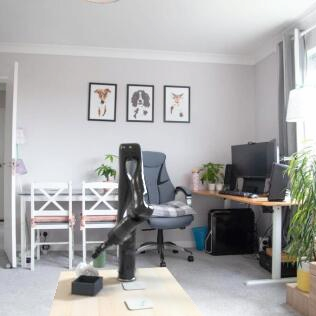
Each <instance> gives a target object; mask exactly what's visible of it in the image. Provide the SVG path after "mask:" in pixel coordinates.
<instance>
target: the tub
mask: <svg viewBox="0 0 316 316" xmlns="http://www.w3.org/2000/svg"><path fill="white" fill-rule="evenodd" d="M103 278H104V276H101V275H99V276H90V275H80V276H79V277H76V278H75V279H73V281H71V286H70V295H74V296H75V295H76V296H86V297H95V296H96V295H97V294H98V293H100V291H101V290H102V289H103V288H104V287H103V286H104V284H103V283H104V279H103Z"/></svg>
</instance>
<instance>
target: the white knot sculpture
mask: <svg viewBox="0 0 316 316" xmlns="http://www.w3.org/2000/svg"><path fill="white" fill-rule="evenodd" d="M75 274H76V278H78V277H79V276H80V275H90V276H100V273H99V271H98V268H94V267H93V260H92V261H90V262H89V263H88V264H87V262H84V261H81V262H79V263H78V264H77V266H76V268H75Z"/></svg>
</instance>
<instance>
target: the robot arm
mask: <svg viewBox="0 0 316 316" xmlns="http://www.w3.org/2000/svg"><path fill="white" fill-rule="evenodd" d="M128 162H135V169H134V171H133V173H132V175H131V174H130V172H129V170H128V168H127V163H128ZM144 173H145V171H144V160H143V149H142V147H141V144H140V143H138V142H123V143H120V144H119V146H118V187H117V212H116V213H117V214H116V224H115V226H113V227H112V228H111V230H109V231H108V233H106V234H107V235H106V236H107V239H105V240H104V241H103V242H102V243H100V245H98V246H99V247H98V248H97V249H96V250H95V253H94V254H93V253H92V254H91V258H92V260H93V259H95V258H96V257H98V256H99V255H100V254H101V253H102V252H105V251H106V252H107V251H108V250H110V249H111V248H112V247H114V246H118V252H117V253H118V256H117V257H118V258H117V259H118V262H117V263H118V264H117V270H116V271H117V280H118V281H119V282H126V283H128V282H129V283H130V282H133V281H135V280H136V270H137V267H136V255H137V254H136V253H137V251H136V250H137V247H136V244H137V243H136V242H137V241H136V239H137V227H138V226H140V225H141V224H143V223H145V222H146V221H148V220H149V219H150V218H151V217H152V216H153V215H154V210H155V209H154V205H152V204H151V203H149V202H146V201H145V199H146V198H147V196H148V189H147V185H146V181H145V180H146V179H145V174H144ZM130 206H131V210H132V212H133V213H129V214H127V215H125V213H126V212H127V210H128V208H129V207H130ZM124 215H125V216H124ZM104 249H105V250H104ZM99 250H100V251H99Z"/></svg>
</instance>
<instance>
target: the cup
mask: <svg viewBox="0 0 316 316" xmlns="http://www.w3.org/2000/svg"><path fill="white" fill-rule="evenodd" d="M99 246H100V245H95V246H93V247H92V255H93V254H94V253H95V250H96V249H97V248H98V247H99ZM104 250H105V249H104ZM99 251H100V250H99ZM92 261H93V267H94V268H96V269H103V268H106V266H107V265H106V264H107V263H106V262H107V251H105V252H102V253H101V254H100V255H99V256H98V257H96V258H95V259H93V258H92Z"/></svg>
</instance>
